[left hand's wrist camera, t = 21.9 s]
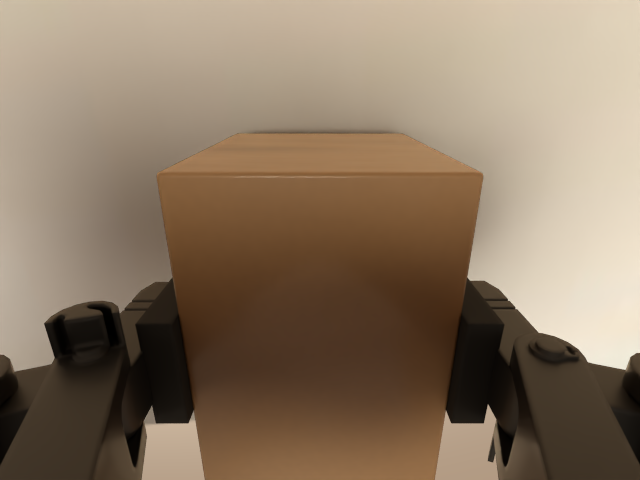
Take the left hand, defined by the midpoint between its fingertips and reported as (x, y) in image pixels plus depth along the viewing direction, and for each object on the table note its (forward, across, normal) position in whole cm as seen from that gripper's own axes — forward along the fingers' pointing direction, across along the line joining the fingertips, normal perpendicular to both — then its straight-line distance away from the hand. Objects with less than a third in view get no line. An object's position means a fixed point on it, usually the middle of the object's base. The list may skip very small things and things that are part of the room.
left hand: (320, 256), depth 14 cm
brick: (+1, 0, 0) cm, 1 cm away
